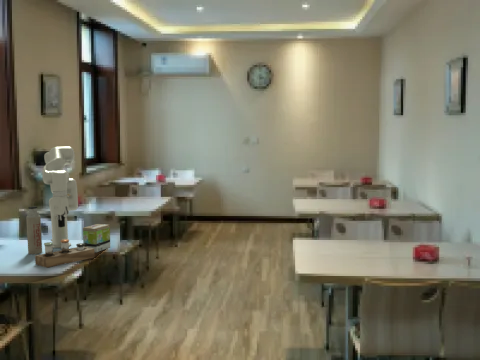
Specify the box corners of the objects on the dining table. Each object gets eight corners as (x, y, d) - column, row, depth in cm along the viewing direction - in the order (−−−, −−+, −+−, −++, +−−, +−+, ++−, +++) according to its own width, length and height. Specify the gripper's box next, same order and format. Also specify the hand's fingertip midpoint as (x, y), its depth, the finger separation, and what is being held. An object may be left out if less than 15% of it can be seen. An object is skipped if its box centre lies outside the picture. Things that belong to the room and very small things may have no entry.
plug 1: (43, 256, 309) (42, 243, 308) (50, 254, 313) (50, 241, 312) (47, 257, 306) (46, 244, 305) (55, 256, 310) (54, 242, 309)
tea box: (97, 252, 336) (96, 228, 335) (83, 251, 340) (81, 227, 338) (111, 247, 350) (110, 224, 349) (97, 246, 354) (96, 223, 352)
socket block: (35, 264, 310) (35, 255, 310) (82, 254, 333) (82, 246, 332) (47, 267, 302) (46, 258, 302) (94, 257, 325) (94, 248, 324)
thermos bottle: (44, 252, 338) (41, 206, 336) (30, 255, 333) (28, 208, 331) (39, 250, 345) (37, 205, 342) (26, 252, 339) (23, 206, 337)
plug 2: (75, 256, 325) (74, 244, 324) (82, 255, 328) (81, 242, 327) (79, 257, 322) (79, 245, 321) (86, 256, 325) (86, 243, 324)
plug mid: (59, 253, 317) (58, 240, 316) (66, 251, 320) (66, 238, 319) (64, 254, 314) (63, 241, 313) (71, 252, 317) (70, 239, 316)
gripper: (46, 194, 314) (48, 226, 316) (61, 195, 305) (63, 229, 306) (58, 192, 320) (59, 224, 322) (73, 194, 311) (75, 227, 312)
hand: (61, 226), depth 314 cm, fingers closed
